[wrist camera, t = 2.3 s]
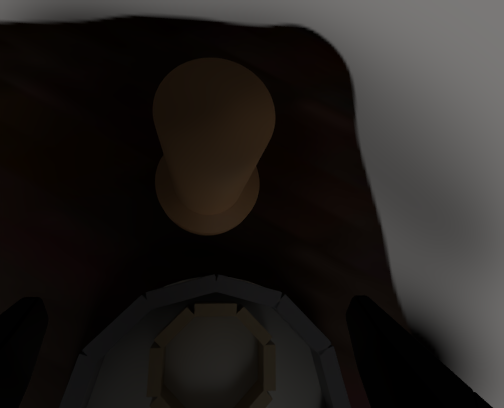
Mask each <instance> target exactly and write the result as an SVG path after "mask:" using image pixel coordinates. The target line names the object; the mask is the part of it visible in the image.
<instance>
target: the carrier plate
mask: <svg viewBox="0 0 504 408" xmlns="http://www.w3.org/2000/svg"><path fill="white" fill-rule="evenodd" d="M330 344H331V342H330V341H329V340H328V339H327V338H326V336H325V335H324V334H323V333H322V332H321V331H320V330H319V329H318V328H317V327H316V326H315V325H314V324H313V323H312V322H311V321H310V320H309V319H308V318H307V316H306V315H305V314H304V313H303V312H302V311H301V310H300V309H299V308H298V307H297V306H296V305H295V304H294V303H293V302H292V301H291V300H290V299H289V298H288V297H287V295H286V294H283V293H282V292H280V291H276V290H272V289H269V288H265V287H263V286H260V285H257V284H255V283H252V282H249V281H245V280H241V279H236V278H231V277H227V276H223V275H219V274H217V276H215V274H212V275H208V276H204V277H196V278H191V279H186V280H182V281H179V282H176V283H173V284H170V285H167V286H165V287H162V288H158V289H155V290H151V291H148V292H146V293H144V294H142V295H141V296H140V297H139V298H138V299H136V300H135V301H134V302H133V303H132V304H131V305H130V306H129V307H128V308H127V309H126V310H125V311H124V312H122V313H121V314H120V315H119V316H118V317H117V318H116V319H115V320H114V321H113V322H112V323H111V324H109V325H108V326H107V327H106V328H105V329H104V330H103V331H102V332H101V333H100V334H99V335H98V336H97V337H95V338H94V339H93V340H92V341H91V342H90V343H89V344H88V345H87V346H86V347H85V348H84V349H83V350H82V351H83V352H81V353H80V354H79V356H78V359H77V361H76V364H75V367H74V369H73V372H72V375H71V377H70V380H69V383H68V385H67V388H66V390H65V393H64V396H63V398H62V401H61V404H60V406H59V408H351V407H350V403H349V400H348V396H347V393H346V389H345V385H344V382H343V378H342V375H341V371H340V368H339V364H338V360H337V357H336V353H335V350H334V346H332V345H330Z"/></svg>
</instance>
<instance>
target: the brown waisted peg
mask: <svg viewBox="0 0 504 408" xmlns="http://www.w3.org/2000/svg"><path fill="white" fill-rule="evenodd" d="M153 120H154V124H155V127H156V131H157V134H158V137H159V141H160V144H161V147H162V150H163V154H164V155H163V156H162V158H161V160H160V162H159V164H158V167H157V170H156V176H155V188H156V193H157V197H158V200H159V202H160V204H161V206H162V208H163V209H164V211H165V213H166V214H167V216H168V217H169V218H170V219H171V220H172V221H173V222H174V223H175V224H176V225H177V226H179V227H180V228H182V229H184V230H186V231H188V232H191V233H193V234H198V235H217V234H221V233H224V232H227V231H229V230H231V229H233V228H234V227H236V226H237V225H238V224H240V223H241V222H242V221H243V220H244V219H245V217H246V216H247V215H248V214H249V213H250V211H251V210H252V208H253V206H254V204H255V203H256V200H257V197H258V193H259V174H258V170H257V167H256V165H257V163H258V161H259V159H260V157H261V156H262V154H263V152H264V150H265V148H266V146H267V144H268V143H269V141H270V139H271V137H272V134H273V131H274V126H275V108H274V104H273V100H272V98H271V95H270V93H269V91H268V89H267V88H266V86H265V85H264V83H263V82H262V81H261V80H260V79H259V78H258V77H257V76H256V75H255V74H254V73H253V72H251V71H250V70H249V69H247V68H245V67H244V66H242V65H240V64H238V63H235V62H233V61H230V60H226V59H221V58H200V59H194V60H191V61H188V62H186V63H183V64H181V65H179V66H178V67H176V68H175V69H173V70H172V71H171V72H170V73H169V74H168V75H167V76H166V77H165V78H164V79H163V80H162V82H161V83H160V85H159V87H158V89H157V91H156V94H155V97H154V101H153Z"/></svg>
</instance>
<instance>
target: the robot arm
mask: <svg viewBox="0 0 504 408" xmlns="http://www.w3.org/2000/svg"><path fill="white" fill-rule="evenodd" d="M346 321H347V325H348V330H349V334H350V338H351V343H352V347H353V351H354V355H355V360H356V364H357V367H358V371H359V374H360V377H361V380H362V383H363V385H364V388H365V391H366V394H367V397H368V400H369V403H370V406H371V408H493V407H491V406H490V405H489V404H488V403H487V402H486V401H484V399H482V398H481V397H480V396H479V395H478V394H477V393H476V392H473V390H472V389H471V388H470V387H469V386H468V385H467V384H465V383H464V382H463V381H462V380H461V379H460V378H459V377H458V376H457V375H455V374H454V373H453V372H452V371H451V370H450V369H449V368H448V367H446V366H445V365H444V364H443V363H442V362H441V361H440V360H439V359H437V358H436V357H435V356H434V355H433V354H432V353H431V352H430V351H428V350H427V349H426V348H425V347H424V346H423V345H422V344H421V343H419V342H418V341H417V340H416V339H415V338H414V337H413V336H412V335H411V334H409V333H408V332H407V331H406V330H405V329H404V328H403V327H402V326H401V325H399V324H398V323H397V322H396V321H395V320H394V319H393V318H392V317H390V316H389V315H388V314H387V313H386V312H385V311H384V310H383V309H381V308H380V307H379V306H378V305H377V304H376V303H375V302H374V301H372V300H371V299H370V298H369V297H367V296H354V297H353V298H352V300H351V302H350V305H349V307H348V309H347V312H346ZM47 325H48V315H47V312H46V309H45V306H44V303H43V301H42V299H41V298H40V297H25V298H22V299H20V300H19V301H18V302H16V303H15V304H14V305H12V306H11V307H10V308H9V309H7V310H6V311H5V312H3V313H2V314H1V315H0V408H19V405H20V403H21V401H22V398H23V396H24V394H25V391H26V389H27V387H28V384H29V382H30V379H31V376H32V373H33V370H34V366H35V363H36V360H37V357H38V354H39V351H40V347H41V344H42V341H43V338H44V335H45V332H46V328H47Z"/></svg>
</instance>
